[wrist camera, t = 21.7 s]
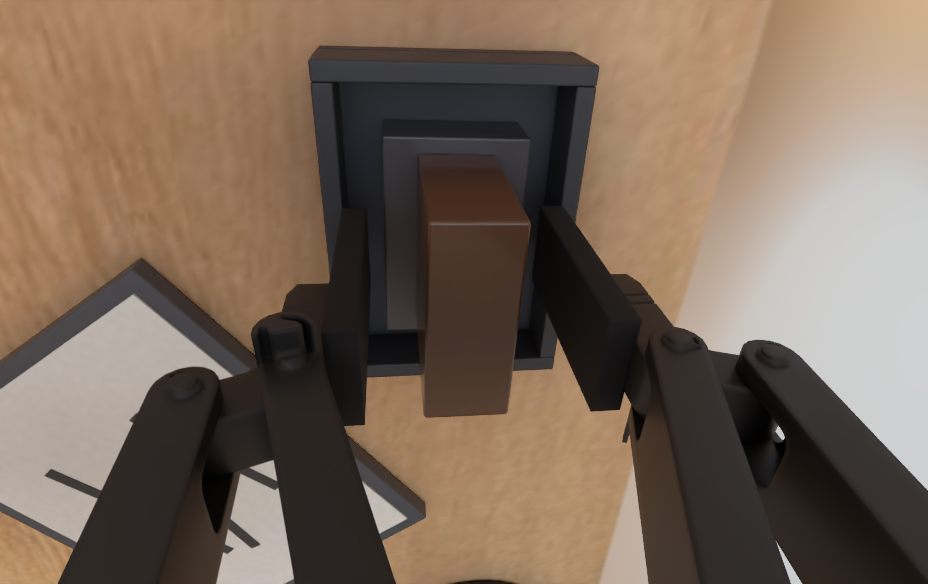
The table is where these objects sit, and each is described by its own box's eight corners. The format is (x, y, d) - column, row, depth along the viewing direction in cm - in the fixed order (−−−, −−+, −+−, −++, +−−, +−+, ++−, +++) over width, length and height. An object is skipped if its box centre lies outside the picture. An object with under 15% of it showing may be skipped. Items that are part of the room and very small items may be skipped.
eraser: (382, 118, 18) (379, 200, 12) (518, 121, 19) (579, 201, 13) (386, 301, 22) (386, 433, 16) (500, 299, 22) (541, 426, 16)
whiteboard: (-102, 435, 23) (-122, 454, 22) (141, 257, 20) (130, 271, 19) (225, 609, 32) (220, 628, 31) (425, 503, 29) (426, 520, 28)
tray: (318, 45, 17) (307, 59, 15) (574, 51, 18) (600, 65, 16) (344, 338, 23) (340, 379, 21) (538, 331, 24) (553, 369, 22)
